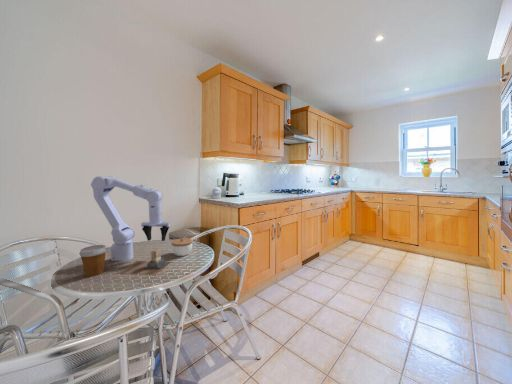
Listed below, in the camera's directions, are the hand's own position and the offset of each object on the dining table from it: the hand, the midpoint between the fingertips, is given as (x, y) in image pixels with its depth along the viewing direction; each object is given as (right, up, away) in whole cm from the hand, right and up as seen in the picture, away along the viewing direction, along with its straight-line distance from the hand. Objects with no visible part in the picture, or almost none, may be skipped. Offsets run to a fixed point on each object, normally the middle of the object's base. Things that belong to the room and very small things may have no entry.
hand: (156, 240), depth 111 cm
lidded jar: (+11, -10, +6) cm, 16 cm away
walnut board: (0, -11, -11) cm, 16 cm away
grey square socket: (+4, -11, -10) cm, 15 cm away
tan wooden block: (+4, -9, -10) cm, 14 cm away
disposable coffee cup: (-19, -12, -17) cm, 28 cm away
